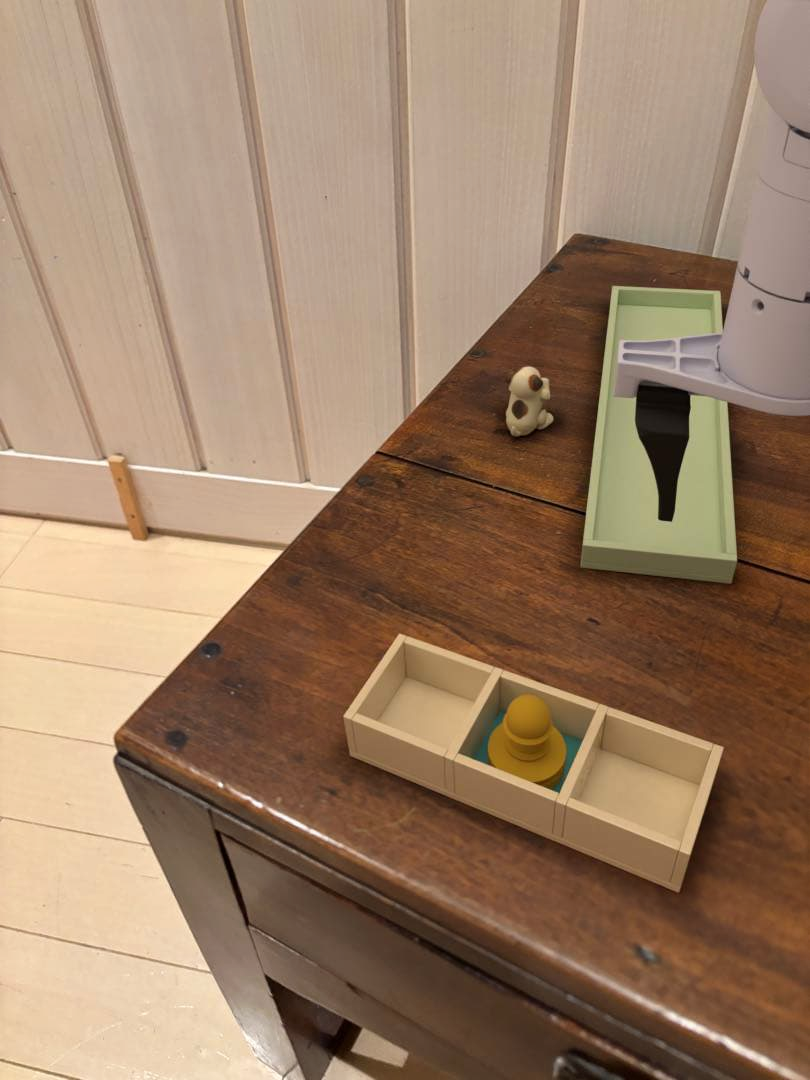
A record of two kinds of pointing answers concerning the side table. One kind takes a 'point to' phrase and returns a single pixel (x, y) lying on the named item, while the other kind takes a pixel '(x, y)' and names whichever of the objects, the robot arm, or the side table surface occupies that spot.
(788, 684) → the side table surface
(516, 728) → the chess piece
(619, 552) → the tray
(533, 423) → the toy dog
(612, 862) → the three-compartment organizer
